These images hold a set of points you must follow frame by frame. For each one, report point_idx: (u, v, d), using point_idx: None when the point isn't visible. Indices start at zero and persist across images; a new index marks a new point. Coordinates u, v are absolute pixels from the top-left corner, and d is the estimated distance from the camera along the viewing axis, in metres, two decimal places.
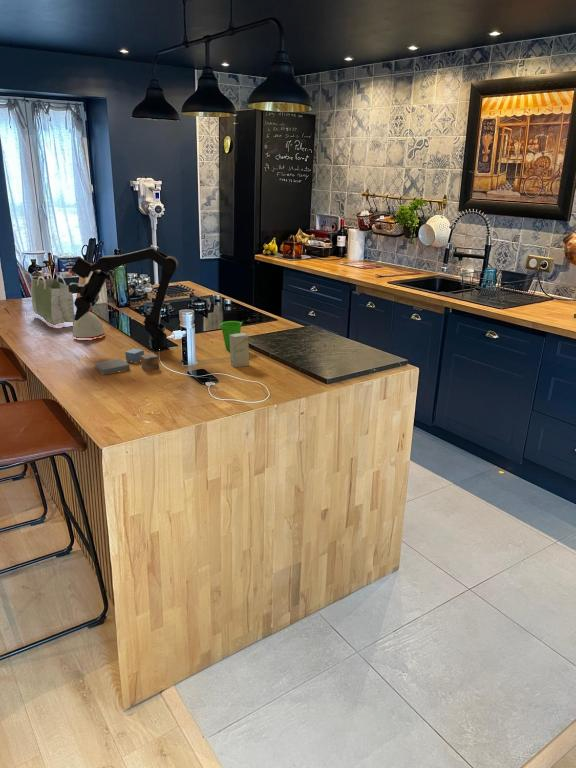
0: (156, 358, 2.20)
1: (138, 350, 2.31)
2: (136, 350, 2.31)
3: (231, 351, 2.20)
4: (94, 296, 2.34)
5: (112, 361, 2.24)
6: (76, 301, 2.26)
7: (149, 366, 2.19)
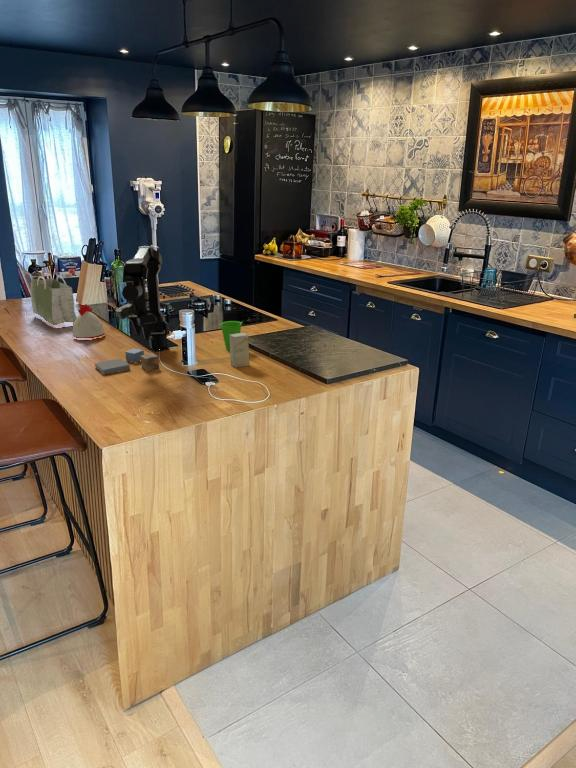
0: (156, 358, 2.20)
1: (138, 350, 2.31)
2: (136, 350, 2.31)
3: (231, 351, 2.20)
4: (146, 307, 2.13)
5: (112, 361, 2.24)
6: (142, 320, 2.06)
7: (149, 366, 2.19)
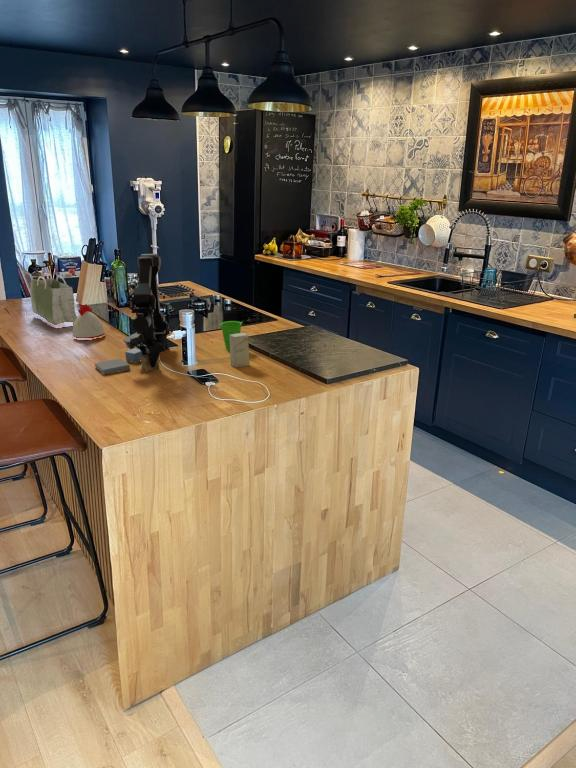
0: None
1: (138, 350, 2.31)
2: (136, 350, 2.31)
3: (231, 351, 2.20)
4: (154, 336, 2.17)
5: (112, 361, 2.24)
6: (151, 350, 2.10)
7: (149, 365, 2.19)
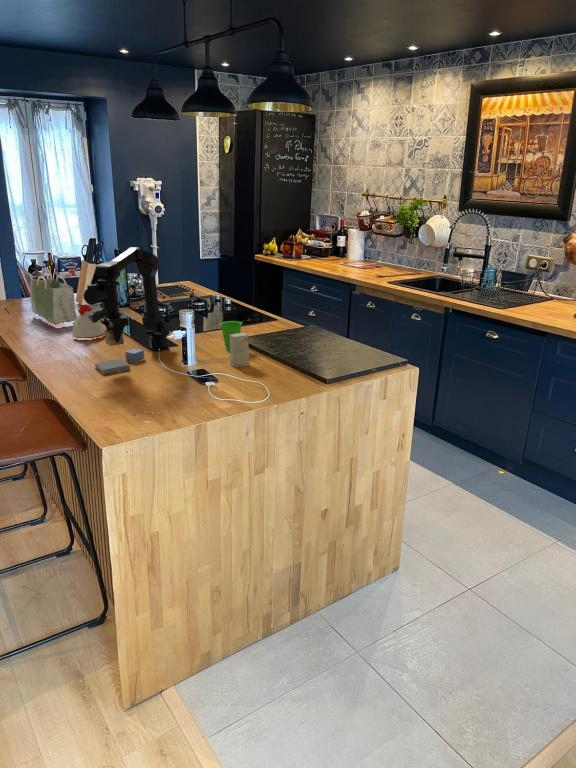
0: None
1: (138, 350, 2.31)
2: (136, 350, 2.31)
3: (231, 351, 2.20)
4: (118, 310, 2.13)
5: (112, 361, 2.24)
6: (114, 324, 2.06)
7: (113, 340, 2.15)
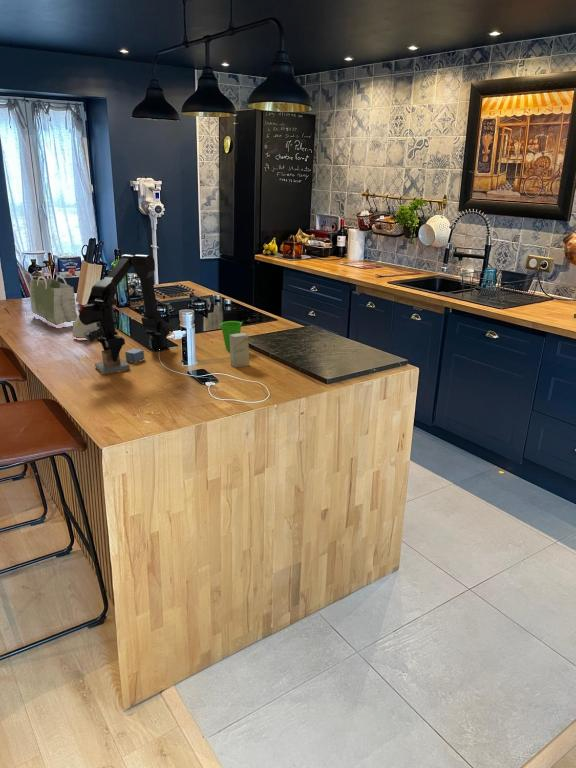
0: None
1: (138, 350, 2.31)
2: (136, 350, 2.31)
3: (231, 351, 2.20)
4: (114, 329, 2.16)
5: None
6: (110, 343, 2.09)
7: (110, 361, 2.18)
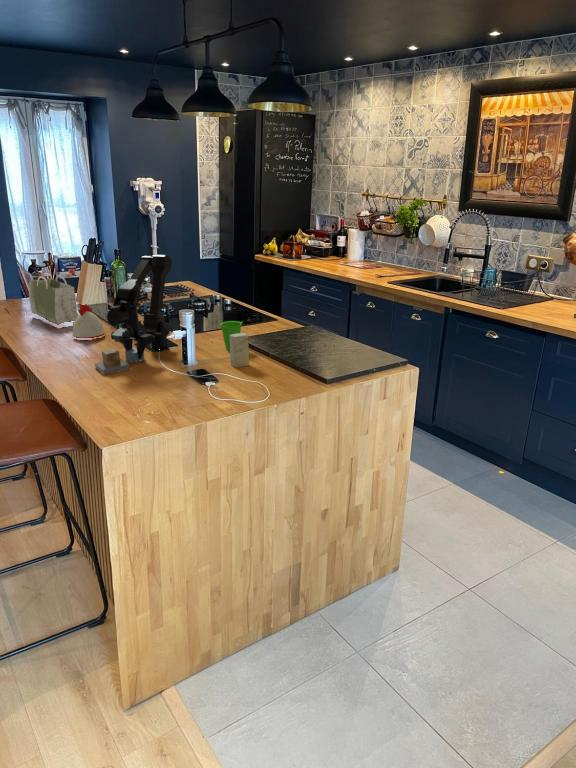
0: (117, 353, 2.19)
1: None
2: (136, 350, 2.31)
3: (231, 351, 2.20)
4: None
5: None
6: (145, 341, 2.22)
7: (110, 361, 2.18)
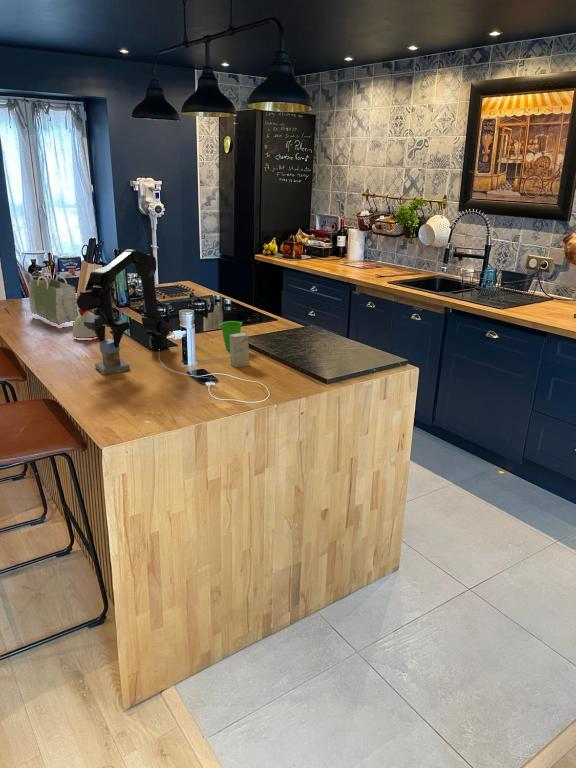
0: (117, 353, 2.19)
1: (113, 340, 2.19)
2: (111, 340, 2.19)
3: (231, 351, 2.20)
4: (113, 315, 2.15)
5: None
6: (119, 328, 2.09)
7: (110, 361, 2.18)
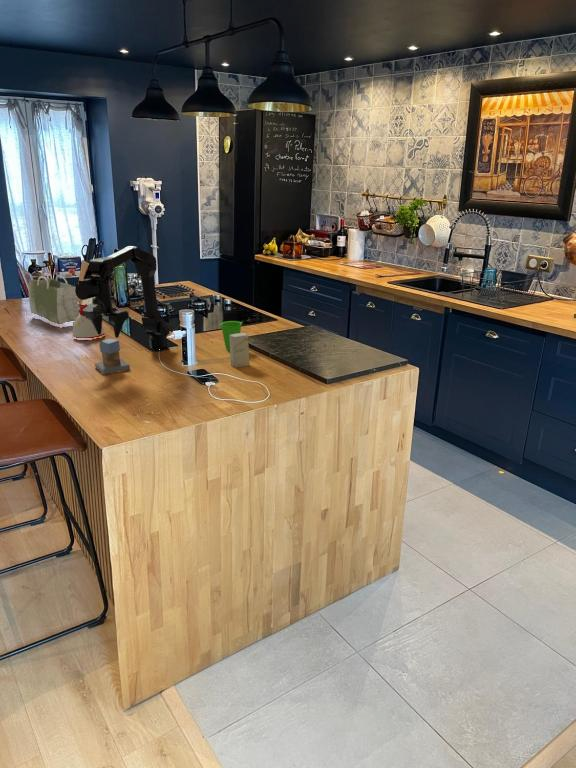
0: (117, 353, 2.19)
1: (113, 340, 2.19)
2: (111, 340, 2.19)
3: (231, 351, 2.20)
4: None
5: None
6: (118, 317, 2.08)
7: (110, 361, 2.18)
